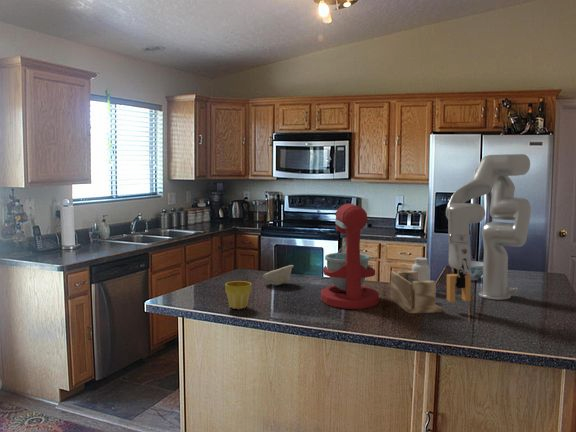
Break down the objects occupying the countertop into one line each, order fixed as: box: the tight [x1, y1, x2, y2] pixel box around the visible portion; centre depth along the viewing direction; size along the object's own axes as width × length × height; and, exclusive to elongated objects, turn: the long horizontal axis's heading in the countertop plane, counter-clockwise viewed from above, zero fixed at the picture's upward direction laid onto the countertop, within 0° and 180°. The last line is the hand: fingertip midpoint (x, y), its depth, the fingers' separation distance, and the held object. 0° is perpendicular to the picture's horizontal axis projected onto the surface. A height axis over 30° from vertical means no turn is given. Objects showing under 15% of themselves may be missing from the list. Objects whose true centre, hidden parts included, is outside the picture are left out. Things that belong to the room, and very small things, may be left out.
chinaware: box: [460, 260, 484, 281], centre depth 256 cm, size 15×15×8 cm
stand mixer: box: [320, 203, 380, 310], centre depth 215 cm, size 24×32×40 cm
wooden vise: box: [389, 270, 443, 314], centre depth 208 cm, size 13×23×12 cm, turn 6°
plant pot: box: [224, 280, 253, 308], centre depth 204 cm, size 10×10×10 cm
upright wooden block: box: [446, 273, 472, 303], centre depth 197 cm, size 8×3×10 cm, turn 96°
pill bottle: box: [411, 257, 431, 281], centre depth 229 cm, size 8×8×15 cm
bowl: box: [262, 264, 294, 286], centre depth 245 cm, size 15×14×10 cm
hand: (458, 286), depth 197 cm, fingers closed on upright wooden block, 3 cm apart
